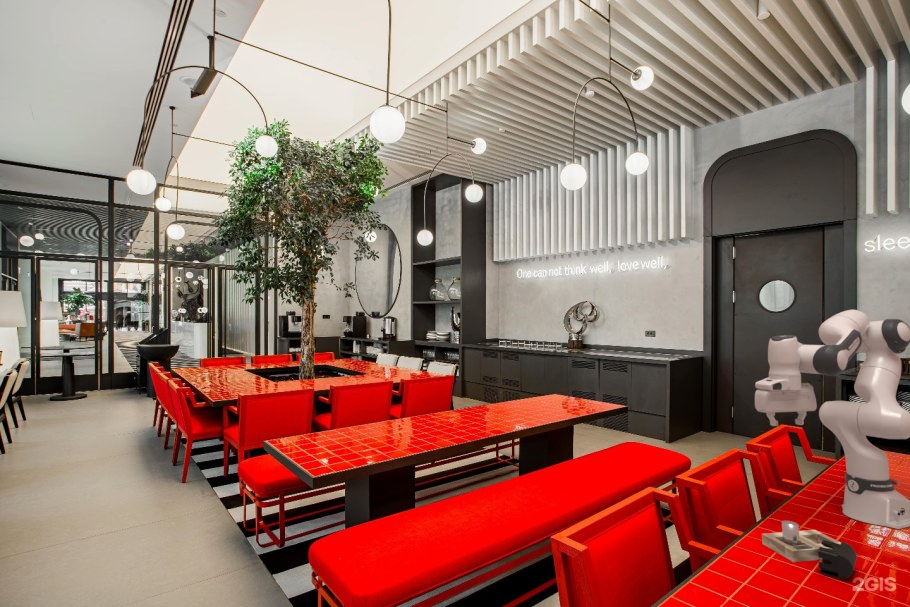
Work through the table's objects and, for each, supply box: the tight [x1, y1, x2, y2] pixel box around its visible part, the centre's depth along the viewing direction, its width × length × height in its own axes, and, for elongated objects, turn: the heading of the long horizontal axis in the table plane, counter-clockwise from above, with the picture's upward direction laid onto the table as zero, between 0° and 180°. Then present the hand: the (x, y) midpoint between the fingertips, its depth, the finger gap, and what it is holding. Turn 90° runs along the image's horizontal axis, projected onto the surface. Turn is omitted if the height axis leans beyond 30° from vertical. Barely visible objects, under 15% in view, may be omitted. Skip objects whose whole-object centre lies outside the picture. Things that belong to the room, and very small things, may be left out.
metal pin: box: [781, 520, 800, 546], centre depth 136 cm, size 4×4×8 cm
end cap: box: [818, 540, 858, 580], centre depth 125 cm, size 10×7×7 cm
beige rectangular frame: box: [761, 529, 842, 563], centre depth 137 cm, size 18×11×3 cm, turn 98°
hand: (786, 425), depth 154 cm, fingers open, 8 cm apart
